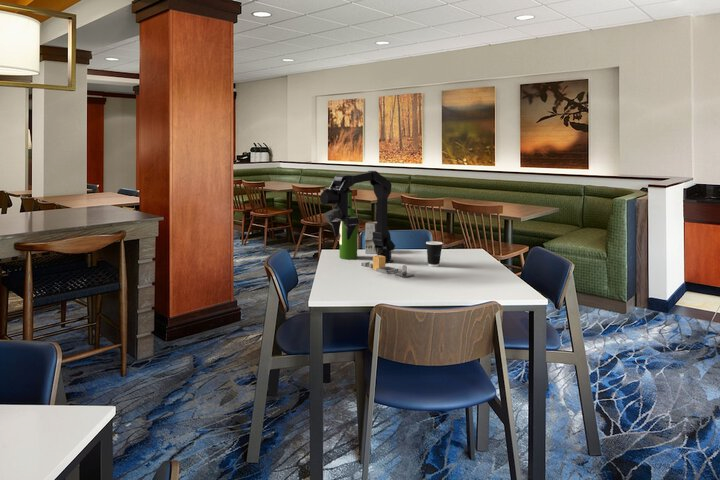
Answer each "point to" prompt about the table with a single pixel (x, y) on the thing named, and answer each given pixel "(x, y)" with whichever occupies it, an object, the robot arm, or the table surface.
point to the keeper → (404, 272)
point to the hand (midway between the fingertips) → (342, 238)
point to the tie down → (379, 265)
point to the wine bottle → (349, 246)
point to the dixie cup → (434, 253)
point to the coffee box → (370, 238)
